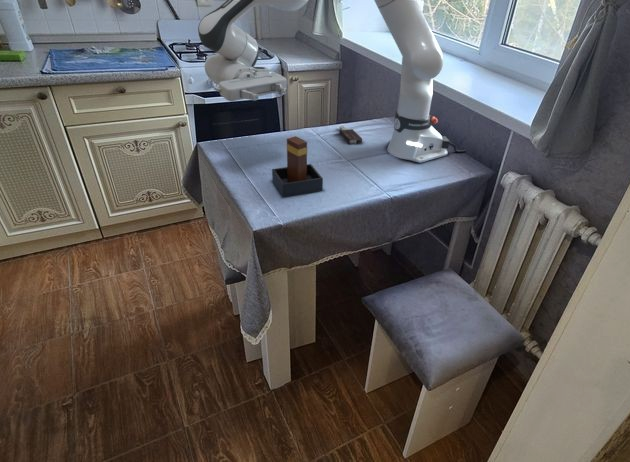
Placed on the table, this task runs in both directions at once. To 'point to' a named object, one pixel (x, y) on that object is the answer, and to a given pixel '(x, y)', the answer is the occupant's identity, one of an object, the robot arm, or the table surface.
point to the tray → (297, 182)
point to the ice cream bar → (350, 136)
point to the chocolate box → (296, 159)
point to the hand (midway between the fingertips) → (270, 94)
